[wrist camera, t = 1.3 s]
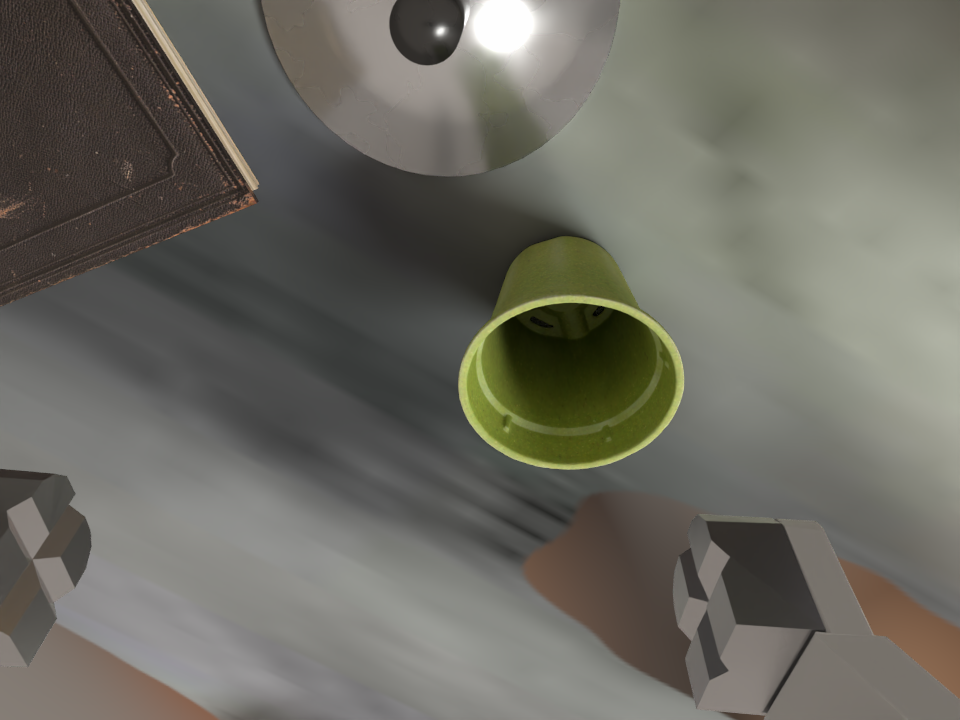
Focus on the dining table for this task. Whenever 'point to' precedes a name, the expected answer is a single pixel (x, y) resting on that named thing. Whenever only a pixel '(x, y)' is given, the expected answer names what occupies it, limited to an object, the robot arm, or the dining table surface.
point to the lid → (443, 74)
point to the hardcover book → (101, 141)
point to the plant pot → (569, 363)
